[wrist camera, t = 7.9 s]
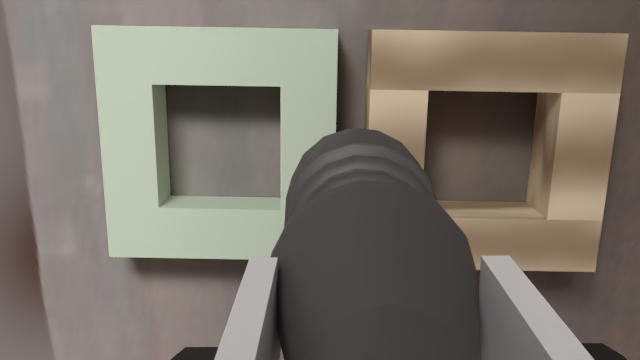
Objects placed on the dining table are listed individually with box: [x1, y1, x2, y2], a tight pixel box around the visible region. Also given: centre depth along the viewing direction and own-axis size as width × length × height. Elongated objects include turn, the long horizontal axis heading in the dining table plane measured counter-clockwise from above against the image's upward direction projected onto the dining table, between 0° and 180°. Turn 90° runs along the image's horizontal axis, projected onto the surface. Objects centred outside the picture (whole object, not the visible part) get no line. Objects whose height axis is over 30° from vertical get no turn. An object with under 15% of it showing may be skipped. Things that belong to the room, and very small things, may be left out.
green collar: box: [91, 25, 338, 260], centre depth 38 cm, size 15×15×3 cm
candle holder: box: [271, 128, 481, 360], centre depth 14 cm, size 6×6×25 cm
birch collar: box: [365, 30, 629, 272], centre depth 37 cm, size 15×15×4 cm
